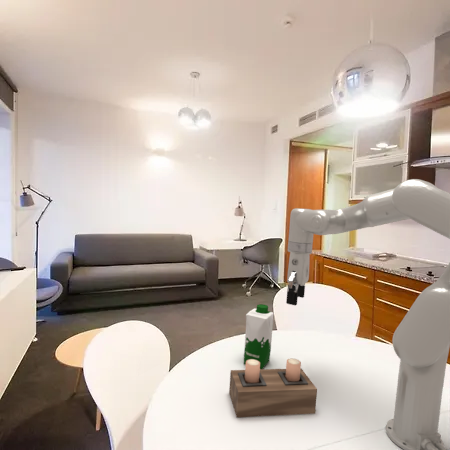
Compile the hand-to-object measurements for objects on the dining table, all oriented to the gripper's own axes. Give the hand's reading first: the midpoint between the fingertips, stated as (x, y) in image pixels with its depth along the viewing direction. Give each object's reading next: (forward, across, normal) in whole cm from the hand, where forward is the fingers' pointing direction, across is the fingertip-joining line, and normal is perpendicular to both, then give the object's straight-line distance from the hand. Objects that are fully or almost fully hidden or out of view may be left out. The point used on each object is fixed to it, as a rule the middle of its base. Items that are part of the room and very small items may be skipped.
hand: (295, 300), depth 106 cm
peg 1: (+21, -19, +6) cm, 29 cm away
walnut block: (+26, -16, +1) cm, 30 cm away
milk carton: (+26, +4, +13) cm, 30 cm away
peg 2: (+21, -12, -4) cm, 25 cm away
